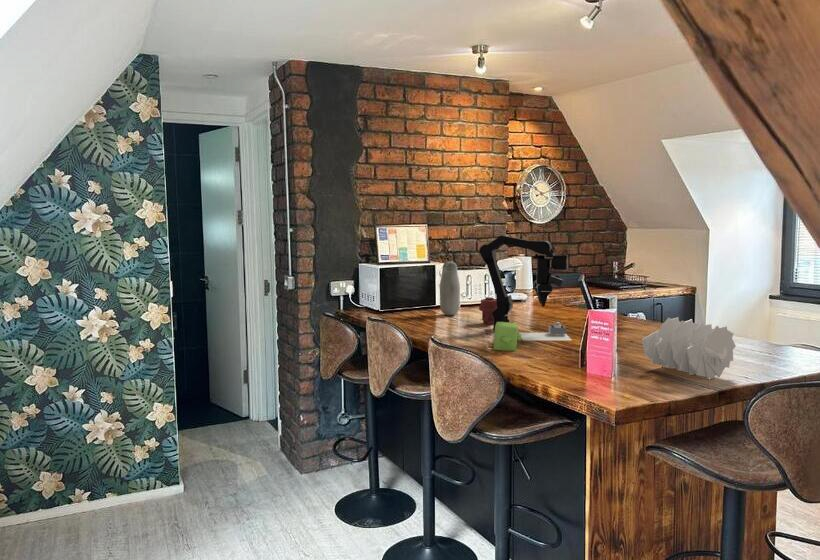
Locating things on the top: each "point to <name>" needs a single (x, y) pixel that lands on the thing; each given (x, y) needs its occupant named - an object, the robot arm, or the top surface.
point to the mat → (544, 337)
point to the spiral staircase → (690, 347)
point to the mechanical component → (488, 309)
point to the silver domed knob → (557, 325)
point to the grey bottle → (449, 289)
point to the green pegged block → (506, 336)
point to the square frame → (556, 330)
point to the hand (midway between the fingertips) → (542, 305)
